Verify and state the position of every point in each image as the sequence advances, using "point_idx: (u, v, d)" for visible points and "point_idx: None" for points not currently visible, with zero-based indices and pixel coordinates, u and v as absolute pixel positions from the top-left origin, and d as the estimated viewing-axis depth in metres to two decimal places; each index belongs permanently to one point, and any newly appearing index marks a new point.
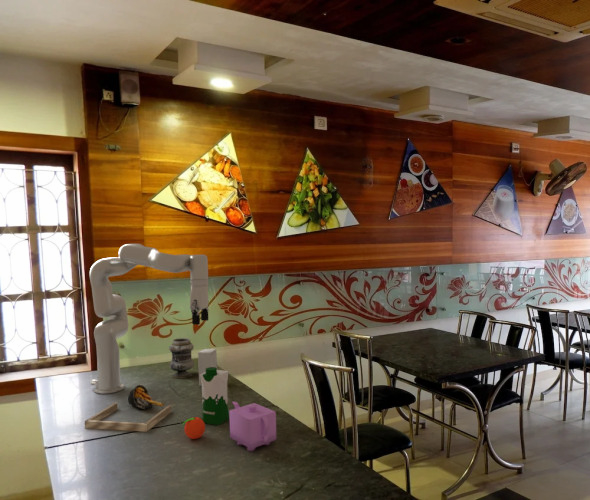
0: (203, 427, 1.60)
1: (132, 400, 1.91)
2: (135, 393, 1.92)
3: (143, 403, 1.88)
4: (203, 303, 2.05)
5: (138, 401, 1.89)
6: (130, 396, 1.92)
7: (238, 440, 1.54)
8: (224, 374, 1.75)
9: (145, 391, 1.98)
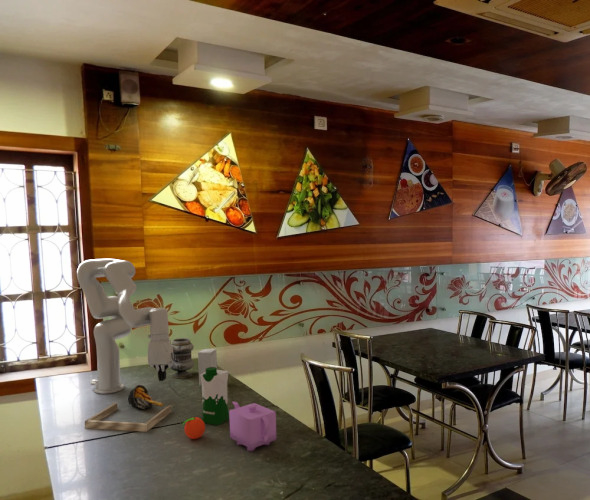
0: (203, 427, 1.60)
1: (132, 400, 1.91)
2: (135, 393, 1.92)
3: (143, 403, 1.88)
4: None
5: (138, 401, 1.89)
6: (130, 396, 1.92)
7: (238, 440, 1.54)
8: (224, 374, 1.75)
9: (145, 391, 1.98)
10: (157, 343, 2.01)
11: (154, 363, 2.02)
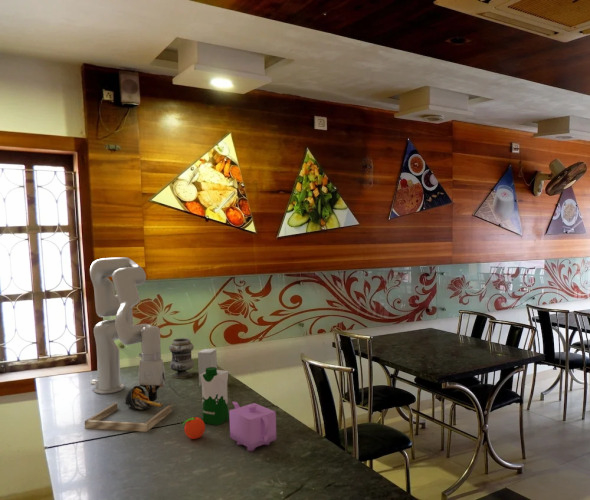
0: (203, 427, 1.60)
1: (130, 401, 1.90)
2: (133, 394, 1.91)
3: (141, 404, 1.87)
4: None
5: (136, 402, 1.88)
6: (128, 397, 1.91)
7: (238, 440, 1.54)
8: (224, 374, 1.75)
9: (142, 392, 1.97)
10: (148, 363, 1.94)
11: (145, 383, 1.95)
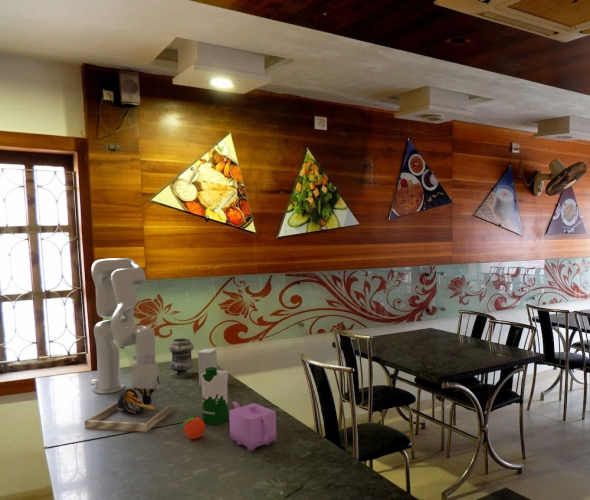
0: (203, 427, 1.60)
1: (122, 404, 1.86)
2: (125, 397, 1.87)
3: (134, 407, 1.84)
4: None
5: (129, 405, 1.84)
6: (120, 400, 1.87)
7: (238, 440, 1.54)
8: (224, 374, 1.75)
9: (135, 395, 1.93)
10: (142, 366, 1.90)
11: (139, 387, 1.90)
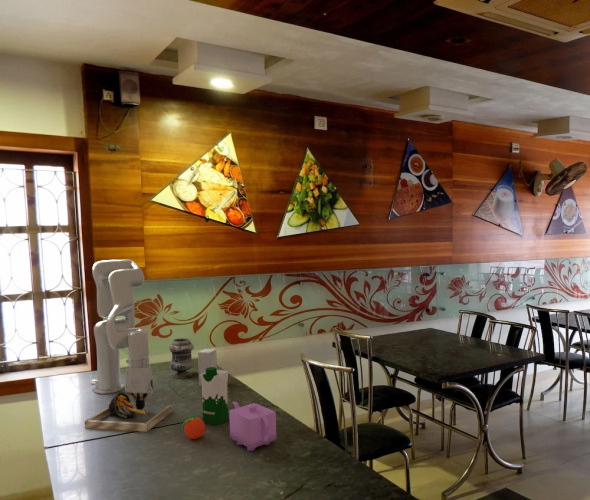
0: (203, 427, 1.60)
1: (113, 409, 1.82)
2: (116, 401, 1.83)
3: (125, 412, 1.79)
4: None
5: (120, 410, 1.80)
6: (111, 404, 1.83)
7: (238, 440, 1.54)
8: (224, 374, 1.75)
9: (127, 399, 1.89)
10: (135, 370, 1.84)
11: (132, 391, 1.85)
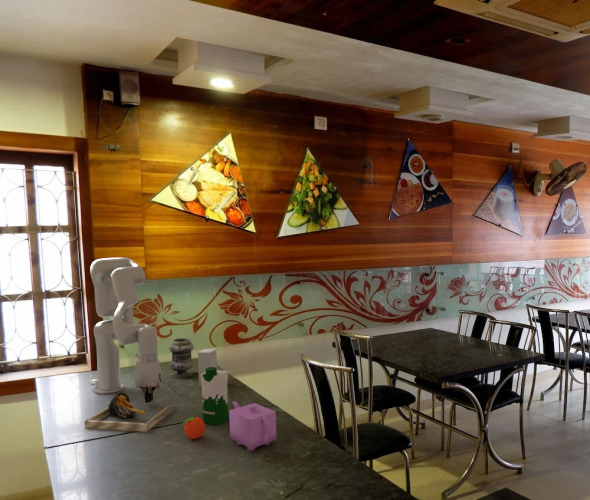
0: (203, 427, 1.60)
1: (113, 409, 1.82)
2: (116, 401, 1.83)
3: (125, 412, 1.79)
4: None
5: (119, 410, 1.80)
6: (111, 404, 1.83)
7: (238, 440, 1.54)
8: (224, 374, 1.75)
9: (127, 399, 1.89)
10: (145, 364, 1.92)
11: (141, 384, 1.92)
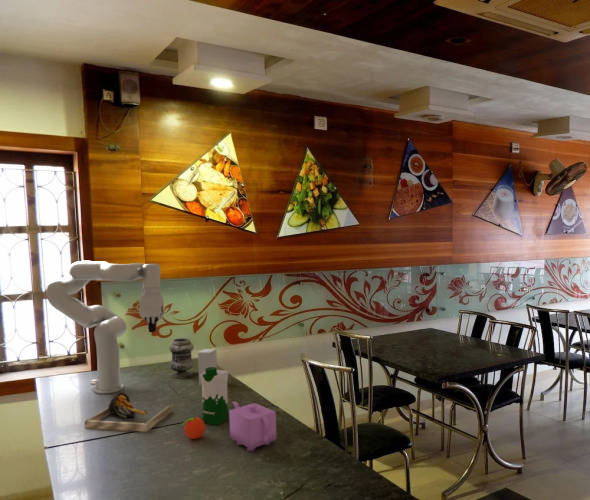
0: (203, 427, 1.60)
1: (113, 409, 1.82)
2: (116, 401, 1.83)
3: (125, 412, 1.79)
4: None
5: (119, 410, 1.80)
6: (111, 404, 1.83)
7: (238, 440, 1.54)
8: (224, 374, 1.75)
9: (127, 399, 1.89)
10: (148, 296, 2.12)
11: (145, 315, 2.12)
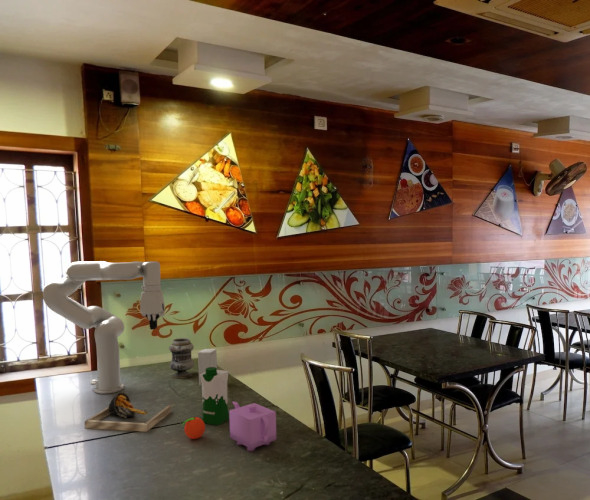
0: (203, 427, 1.60)
1: (113, 409, 1.82)
2: (116, 401, 1.83)
3: (125, 412, 1.79)
4: None
5: (119, 410, 1.80)
6: (111, 404, 1.83)
7: (238, 440, 1.54)
8: (224, 374, 1.75)
9: (127, 399, 1.89)
10: (149, 293, 2.14)
11: (146, 312, 2.15)
